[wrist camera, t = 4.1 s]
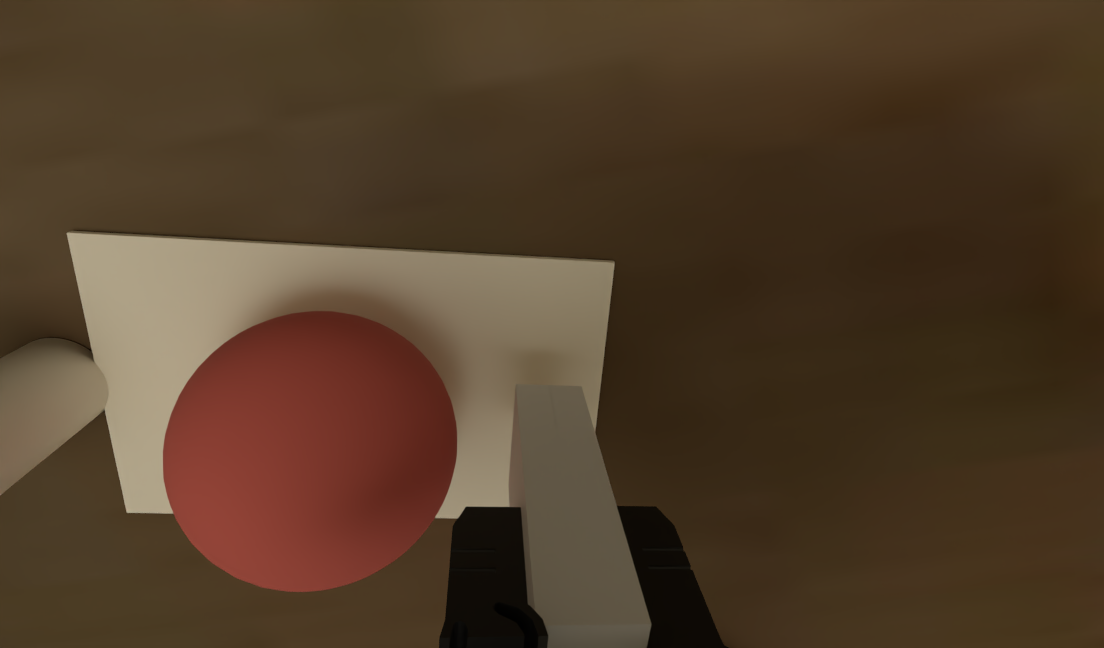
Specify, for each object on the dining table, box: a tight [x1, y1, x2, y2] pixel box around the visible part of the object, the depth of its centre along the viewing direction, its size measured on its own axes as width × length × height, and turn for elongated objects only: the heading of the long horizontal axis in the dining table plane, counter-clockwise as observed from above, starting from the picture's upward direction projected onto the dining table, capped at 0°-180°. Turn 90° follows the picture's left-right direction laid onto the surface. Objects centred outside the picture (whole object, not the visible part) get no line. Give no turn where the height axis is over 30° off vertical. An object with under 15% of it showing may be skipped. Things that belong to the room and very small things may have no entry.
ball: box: [163, 311, 457, 592], centre depth 14 cm, size 6×6×6 cm
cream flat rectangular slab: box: [67, 231, 615, 518], centre depth 16 cm, size 13×8×1 cm, turn 86°
